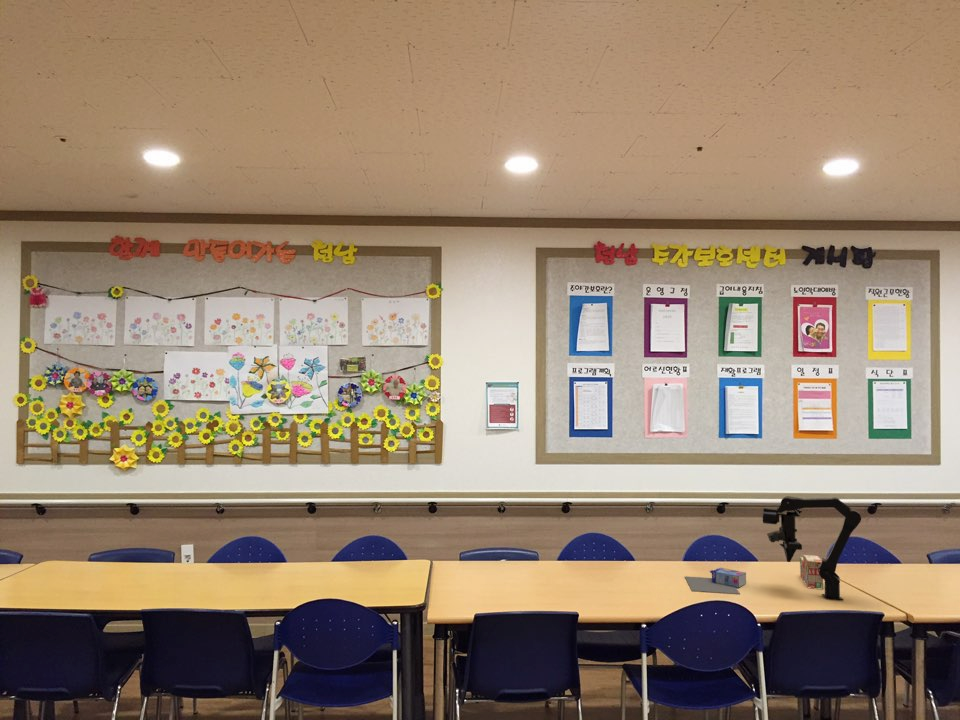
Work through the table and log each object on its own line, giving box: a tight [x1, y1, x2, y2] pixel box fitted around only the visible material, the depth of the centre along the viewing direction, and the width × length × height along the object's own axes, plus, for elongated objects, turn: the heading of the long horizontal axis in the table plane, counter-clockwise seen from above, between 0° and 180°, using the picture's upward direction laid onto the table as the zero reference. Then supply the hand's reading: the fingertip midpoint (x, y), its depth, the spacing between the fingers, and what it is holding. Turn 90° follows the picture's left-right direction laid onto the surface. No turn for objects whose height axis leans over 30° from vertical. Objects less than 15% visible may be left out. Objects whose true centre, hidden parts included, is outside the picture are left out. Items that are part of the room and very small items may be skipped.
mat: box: [684, 575, 741, 595], centre depth 300 cm, size 24×20×1 cm
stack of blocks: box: [799, 554, 824, 590], centre depth 308 cm, size 21×6×12 cm, turn 163°
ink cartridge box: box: [709, 567, 747, 589], centre depth 304 cm, size 10×6×14 cm
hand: (788, 561), depth 292 cm, fingers closed
